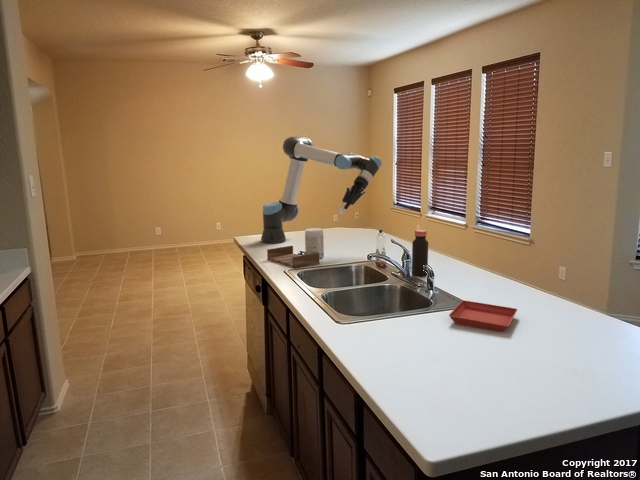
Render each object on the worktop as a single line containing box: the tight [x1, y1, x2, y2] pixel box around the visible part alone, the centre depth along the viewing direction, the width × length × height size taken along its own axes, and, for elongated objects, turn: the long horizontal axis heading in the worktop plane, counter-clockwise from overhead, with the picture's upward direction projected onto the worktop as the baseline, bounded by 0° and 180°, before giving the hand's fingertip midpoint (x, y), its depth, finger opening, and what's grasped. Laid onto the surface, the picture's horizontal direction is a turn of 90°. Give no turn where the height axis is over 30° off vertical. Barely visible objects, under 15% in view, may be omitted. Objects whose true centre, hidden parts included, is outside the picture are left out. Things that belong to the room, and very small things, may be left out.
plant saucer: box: [448, 300, 518, 332], centre depth 153 cm, size 18×18×3 cm
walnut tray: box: [266, 245, 321, 269], centre depth 237 cm, size 24×15×6 cm, turn 38°
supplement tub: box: [304, 227, 325, 259], centre depth 245 cm, size 10×10×15 cm
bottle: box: [411, 229, 429, 278], centre depth 207 cm, size 7×7×20 cm
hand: (340, 213), depth 253 cm, fingers closed
